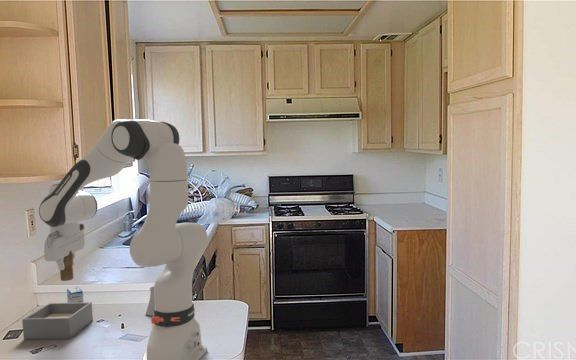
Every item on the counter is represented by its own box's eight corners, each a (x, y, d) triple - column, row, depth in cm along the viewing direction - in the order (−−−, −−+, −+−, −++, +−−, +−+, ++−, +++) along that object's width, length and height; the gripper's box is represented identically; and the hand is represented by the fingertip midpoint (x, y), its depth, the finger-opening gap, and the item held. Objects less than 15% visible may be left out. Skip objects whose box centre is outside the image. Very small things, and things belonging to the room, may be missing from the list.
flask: (167, 309, 177) (166, 284, 177) (160, 316, 170) (159, 290, 169) (149, 309, 178) (148, 284, 177) (142, 316, 171) (140, 290, 170)
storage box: (70, 339, 152) (69, 318, 152) (23, 339, 153) (22, 319, 152) (92, 320, 168) (91, 302, 168) (50, 321, 169) (49, 303, 168)
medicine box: (67, 309, 181) (66, 288, 181) (79, 307, 184) (78, 286, 183) (72, 315, 175) (70, 293, 174) (84, 312, 178) (83, 290, 177)
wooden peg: (69, 280, 159) (67, 252, 158) (58, 280, 159) (56, 252, 158) (75, 277, 163) (73, 249, 162) (64, 277, 163) (62, 250, 162)
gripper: (56, 234, 149) (58, 276, 150) (86, 223, 169) (88, 260, 170) (37, 234, 149) (40, 276, 150) (70, 224, 170) (72, 260, 171)
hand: (66, 267), depth 161 cm, fingers closed on wooden peg, 4 cm apart
